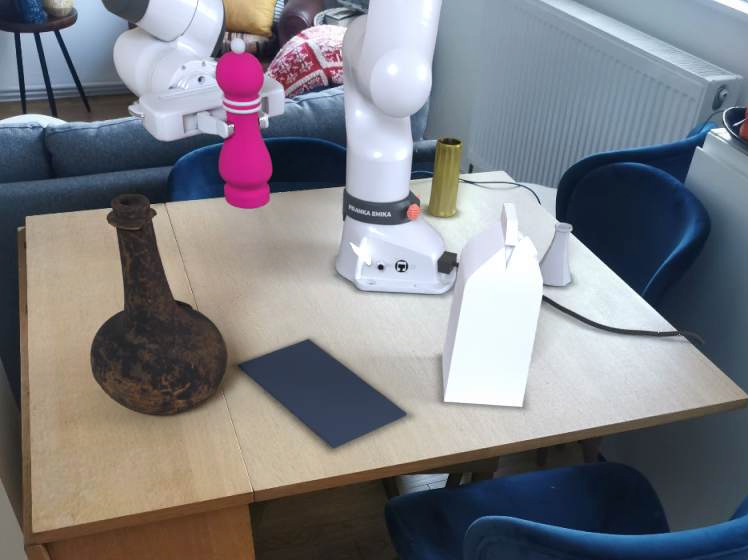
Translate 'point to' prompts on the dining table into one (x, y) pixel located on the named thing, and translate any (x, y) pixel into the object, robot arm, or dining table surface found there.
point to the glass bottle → (153, 328)
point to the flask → (557, 258)
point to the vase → (445, 177)
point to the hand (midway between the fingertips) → (247, 126)
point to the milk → (493, 316)
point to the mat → (322, 392)
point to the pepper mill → (243, 129)
